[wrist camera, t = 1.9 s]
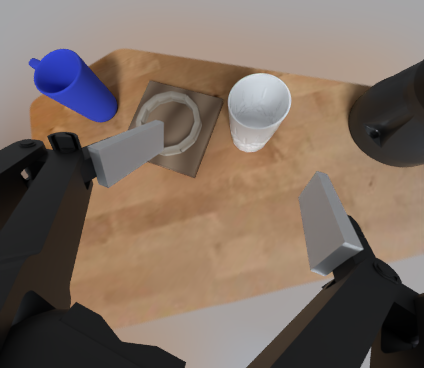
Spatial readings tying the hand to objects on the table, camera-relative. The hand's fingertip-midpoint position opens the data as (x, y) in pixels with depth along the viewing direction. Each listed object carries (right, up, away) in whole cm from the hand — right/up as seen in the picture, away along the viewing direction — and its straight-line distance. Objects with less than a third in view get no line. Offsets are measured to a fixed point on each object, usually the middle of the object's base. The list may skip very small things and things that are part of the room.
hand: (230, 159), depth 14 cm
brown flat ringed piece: (-10, +9, +19) cm, 23 cm away
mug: (-26, +15, +22) cm, 37 cm away
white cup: (+6, +7, +17) cm, 19 cm away
